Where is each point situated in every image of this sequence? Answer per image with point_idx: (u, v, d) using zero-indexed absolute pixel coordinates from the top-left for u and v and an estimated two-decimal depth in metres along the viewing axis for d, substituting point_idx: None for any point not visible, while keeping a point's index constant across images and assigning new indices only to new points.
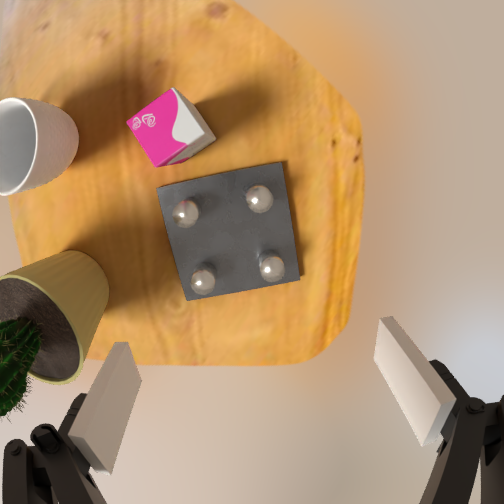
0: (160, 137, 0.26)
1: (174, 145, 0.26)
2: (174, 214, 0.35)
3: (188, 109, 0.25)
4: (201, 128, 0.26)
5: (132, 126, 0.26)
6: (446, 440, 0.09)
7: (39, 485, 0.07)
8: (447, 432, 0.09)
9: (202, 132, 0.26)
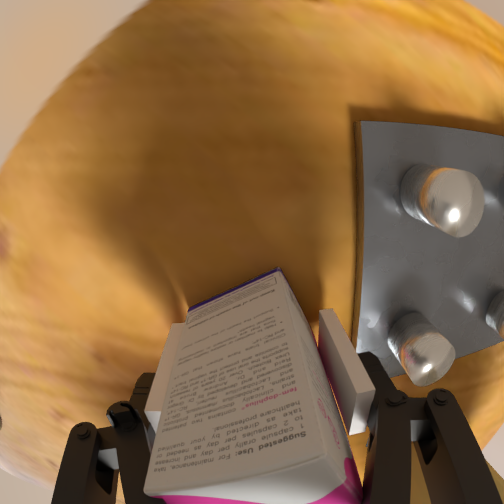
0: None
1: (333, 499, 0.07)
2: (424, 383, 0.14)
3: (222, 482, 0.06)
4: (305, 462, 0.06)
5: None
6: (372, 435, 0.10)
7: (100, 470, 0.09)
8: (371, 427, 0.10)
9: (322, 461, 0.06)
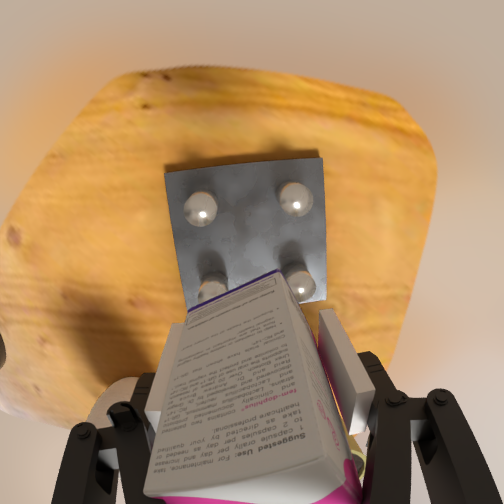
0: None
1: (332, 500, 0.07)
2: None
3: (222, 483, 0.06)
4: (304, 464, 0.06)
5: None
6: (372, 435, 0.10)
7: (101, 470, 0.09)
8: (371, 427, 0.10)
9: (321, 462, 0.06)
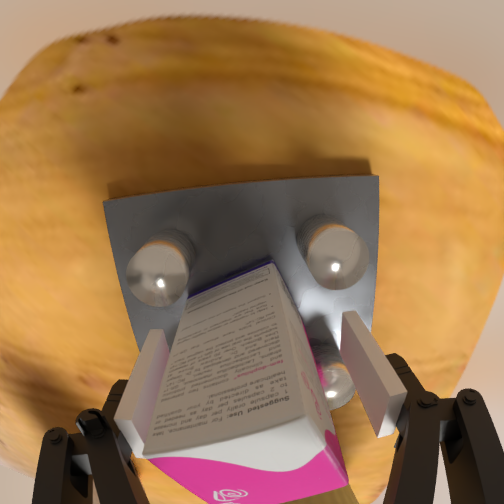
0: (282, 485, 0.09)
1: (315, 467, 0.08)
2: None
3: (214, 442, 0.08)
4: (287, 422, 0.07)
5: None
6: (402, 435, 0.10)
7: (75, 475, 0.08)
8: (401, 427, 0.10)
9: (302, 421, 0.07)
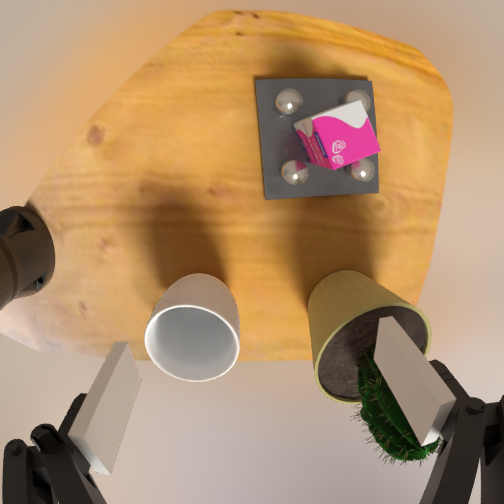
0: (357, 139, 0.27)
1: (366, 128, 0.27)
2: (293, 182, 0.36)
3: (336, 108, 0.26)
4: (356, 101, 0.26)
5: (340, 164, 0.28)
6: (446, 440, 0.09)
7: (39, 485, 0.07)
8: (447, 432, 0.09)
9: (359, 101, 0.26)
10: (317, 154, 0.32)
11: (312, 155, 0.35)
